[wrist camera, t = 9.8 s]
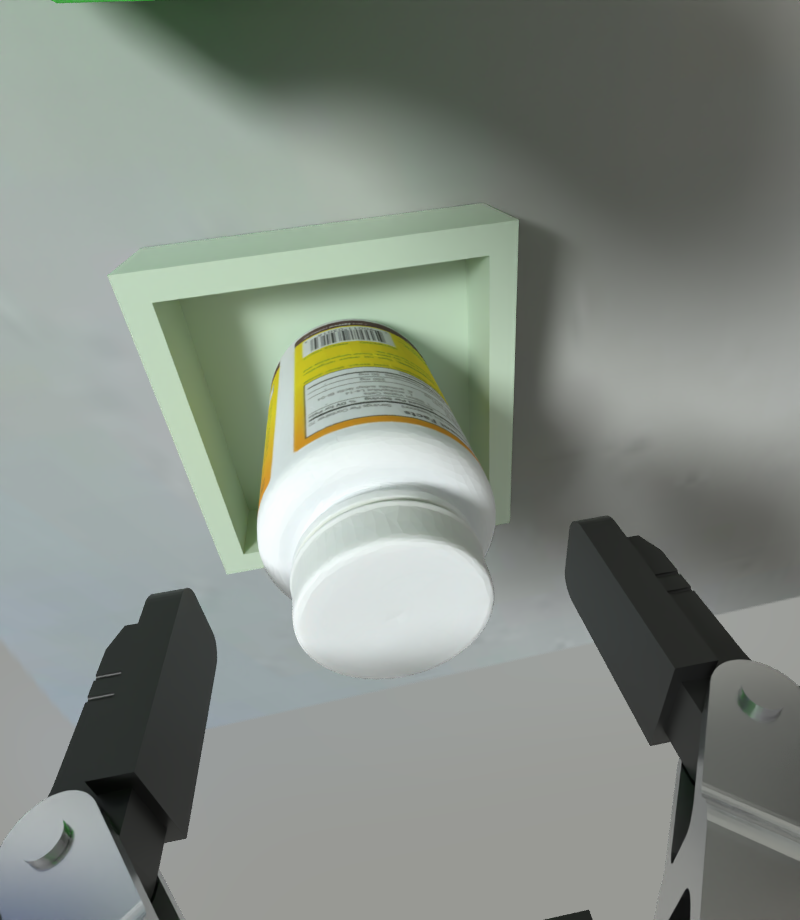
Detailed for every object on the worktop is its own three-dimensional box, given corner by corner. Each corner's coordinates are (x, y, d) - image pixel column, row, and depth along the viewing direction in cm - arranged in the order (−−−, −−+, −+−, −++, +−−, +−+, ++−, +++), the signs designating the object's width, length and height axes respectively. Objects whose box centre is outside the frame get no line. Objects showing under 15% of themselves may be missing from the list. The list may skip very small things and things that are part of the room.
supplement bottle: (350, 481, 21) (384, 734, 12) (236, 391, 18) (178, 637, 9) (460, 388, 19) (586, 603, 11) (354, 275, 16) (412, 442, 8)
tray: (483, 202, 17) (518, 220, 14) (484, 473, 22) (509, 522, 20) (141, 248, 16) (107, 275, 13) (236, 516, 22) (227, 574, 19)
